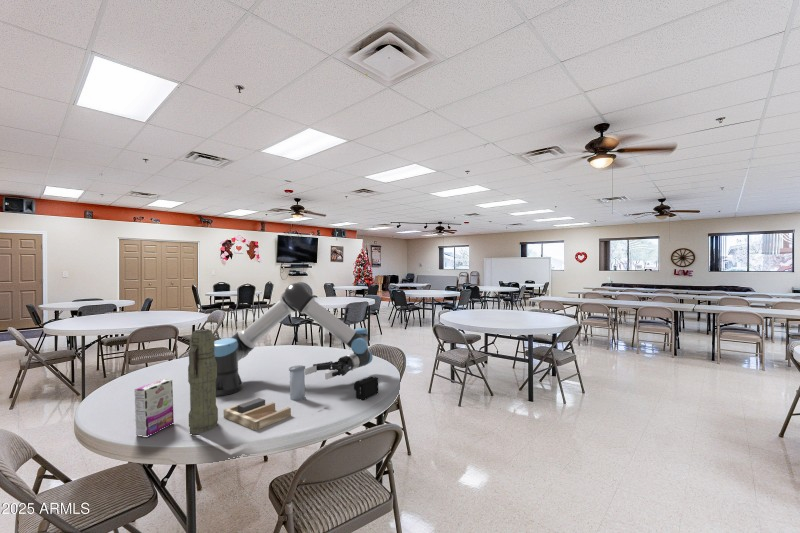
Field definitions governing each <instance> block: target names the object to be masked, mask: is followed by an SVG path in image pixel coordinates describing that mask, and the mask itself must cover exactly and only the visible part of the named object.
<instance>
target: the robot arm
mask: <svg viewBox="0 0 800 533" xmlns="http://www.w3.org/2000/svg"><path fill="white" fill-rule="evenodd" d="M313 295H314V292H313V289H312V287H311V286H310V285H309V284H308V283H306V282H302V281H298V282H293V283H291V284H290V285H288V286H287V287H286V289H284V292H283V293H282V294H280V299H279V300H278V301H277V302H276V303H274V304H273V305H272V306H271V307H270V308H269V309H267V310H266V311H264V312H263V314H262V315H261V316H259V317H258V318H257V319H256V320H255V321H253V322H252V323H251V324H250V325H249V326H247V328H245V329H244V330H242V329H241V330H238V331H237V332H236V333H235V334H233V335H232V336H231V337H225V338H220V339H216V340H214V345H215V351H214V355H215V360H216V363H217V378H216V397H223V396H228V395H232V394H235V393H238V392H239V391H241V390H242V389H243V382H242V379H241V377H240V374H239V361H241V360H242V359H244V358H246V357H247V356H248V355H249V353H250V352H252V351H253V350H254V349H255V348H256V346H257V344H256V343H257V342H259V341H260V340H261V339H262V338H263V337H264V336H266V335H267V334H268V333H269V332H270V331H272V330H273V329H274V328H275V327H276V326H277V325H278V324H279V323H281V322H282V321H284V319H285V318H287V316H289V315H290V314H291V313H297V312H298V313H300V314H305V315H306V316H308V317H309V318H311V320H313V321H314V322H316V323H317V325H318V324H319V326H321V327H322V328H323V329H325V330H326V331H328V332H329V333H330V334H331V335H333V336H334V337H335V338H337V339H338V340H339V341H341V342H342V343H344V344H345V345H346V346H347V347H348V348H350V349H351V351H352V352H353V353H350V354H348V355H344V356H341V357H339V358H338V360H337V361H334V362H333V361H331V360H330V361H328V362H327V361H326V362H321V363H313V364H312V366H310V367H305V369H304V374H305V376H307V375H310V374H312V373H317V371H326V370H329V371H326V372H325V374H324V380H329V379H332V378H334V377H337V376H338V377H339V376H342V377H343V376H344V377H345V375H347V373H348V372H350V371H354V370H356V369H358V368H361V367H365V366H367V365H369V364H371V362H372V361H373V357H374V356H373V354H372V352H371V351H370V350H369V337H368V336H369V334H368V329H367V328H365V327H357V328H354V329H353V328H352V327H350V326H349V325H348V324H346V323H344V322H343V321H342V320H341V319H340V318H338V317H337V316H336V315H334V313H332V312H330V311H329V310H328V309H326V308H325V307H324V306H322V305H321V304H320V303H318V302H317V301H316V299H315V296H313Z"/></svg>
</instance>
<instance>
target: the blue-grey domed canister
mask: <svg viewBox="0 0 800 533" xmlns="http://www.w3.org/2000/svg"><path fill="white" fill-rule="evenodd" d="M305 369H306V366H305V365H300V364H299V365H298V364H297V365H293V366H290V367H288V371H289V388H290V389H289V394H290V395H289V397H290V400H291V401H300V400H303V401H306V400H307V398H306V395H305V394H306V388H305V387H306V384H305V383H306V382H305V378H306V375H305Z"/></svg>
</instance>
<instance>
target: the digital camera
mask: <svg viewBox="0 0 800 533" xmlns="http://www.w3.org/2000/svg"><path fill="white" fill-rule="evenodd" d="M353 389H354V391H355V399H356V398H357V400H360V399H361V401H365V400H367V399H369V398H371V397H373V396H376V395H377V393H378V394H379V377H376V376H368V377H366V378H363V379H361V380H356V381H355V382H354V385H353Z"/></svg>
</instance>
